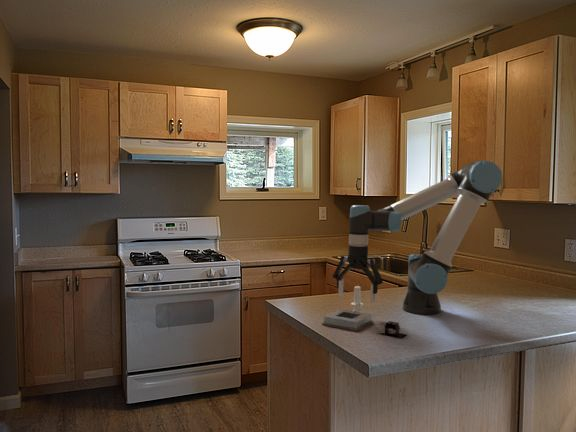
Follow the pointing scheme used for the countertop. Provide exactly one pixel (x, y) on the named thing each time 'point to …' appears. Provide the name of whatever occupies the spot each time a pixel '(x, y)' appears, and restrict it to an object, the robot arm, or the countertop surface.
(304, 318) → the countertop surface
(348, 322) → the block
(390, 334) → the black bracket mount
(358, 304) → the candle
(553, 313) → the countertop surface
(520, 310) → the countertop surface
